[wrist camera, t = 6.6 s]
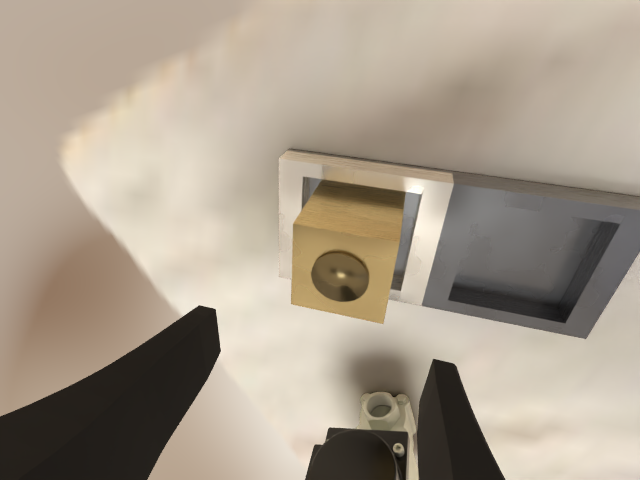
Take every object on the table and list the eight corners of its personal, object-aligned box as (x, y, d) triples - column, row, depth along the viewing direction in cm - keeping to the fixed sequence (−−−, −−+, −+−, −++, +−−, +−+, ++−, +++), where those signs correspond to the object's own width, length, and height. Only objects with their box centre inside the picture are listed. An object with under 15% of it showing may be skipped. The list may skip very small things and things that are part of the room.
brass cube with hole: (406, 190, 18) (399, 245, 14) (392, 261, 20) (382, 327, 16) (322, 178, 19) (291, 226, 14) (318, 247, 21) (289, 307, 17)
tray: (643, 197, 16) (662, 213, 15) (575, 317, 20) (585, 339, 18) (289, 148, 19) (278, 158, 17) (287, 261, 22) (278, 276, 21)
